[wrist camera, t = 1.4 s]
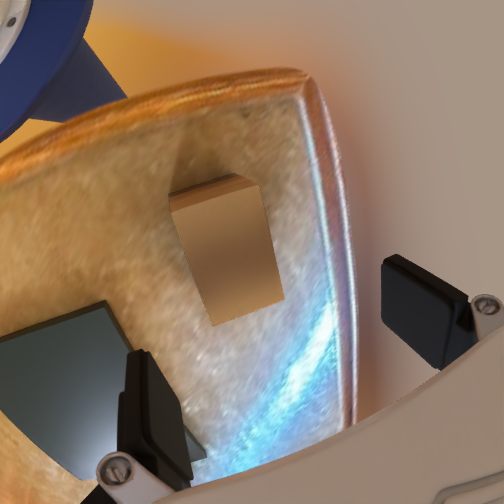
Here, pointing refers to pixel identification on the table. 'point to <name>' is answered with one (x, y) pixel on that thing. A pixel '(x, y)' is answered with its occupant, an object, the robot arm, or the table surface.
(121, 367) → the chalkboard
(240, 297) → the eraser
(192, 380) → the table surface
